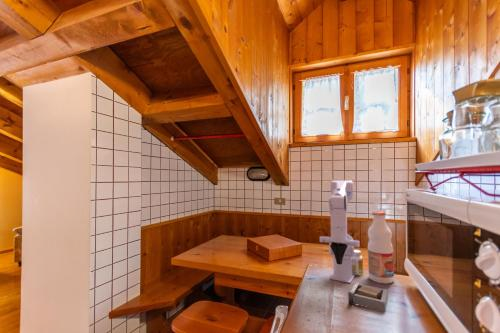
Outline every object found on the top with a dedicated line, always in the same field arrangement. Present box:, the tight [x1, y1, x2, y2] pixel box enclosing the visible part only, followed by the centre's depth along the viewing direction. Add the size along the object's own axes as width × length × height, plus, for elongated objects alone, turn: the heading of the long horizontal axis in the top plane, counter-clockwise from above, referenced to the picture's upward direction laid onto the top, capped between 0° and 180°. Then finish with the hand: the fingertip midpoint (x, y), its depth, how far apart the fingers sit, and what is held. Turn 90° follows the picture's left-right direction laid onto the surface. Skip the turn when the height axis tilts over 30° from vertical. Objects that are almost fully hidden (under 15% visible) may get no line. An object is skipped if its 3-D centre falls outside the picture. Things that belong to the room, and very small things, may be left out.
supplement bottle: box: [351, 249, 364, 276], centre depth 112 cm, size 5×5×10 cm
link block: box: [358, 284, 382, 300], centre depth 87 cm, size 5×6×4 cm
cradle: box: [353, 283, 389, 313], centre depth 87 cm, size 10×9×3 cm
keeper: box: [347, 281, 360, 307], centre depth 89 cm, size 12×1×4 cm, turn 145°
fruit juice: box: [367, 210, 395, 284], centre depth 105 cm, size 9×9×28 cm
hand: (339, 263), depth 94 cm, fingers closed
